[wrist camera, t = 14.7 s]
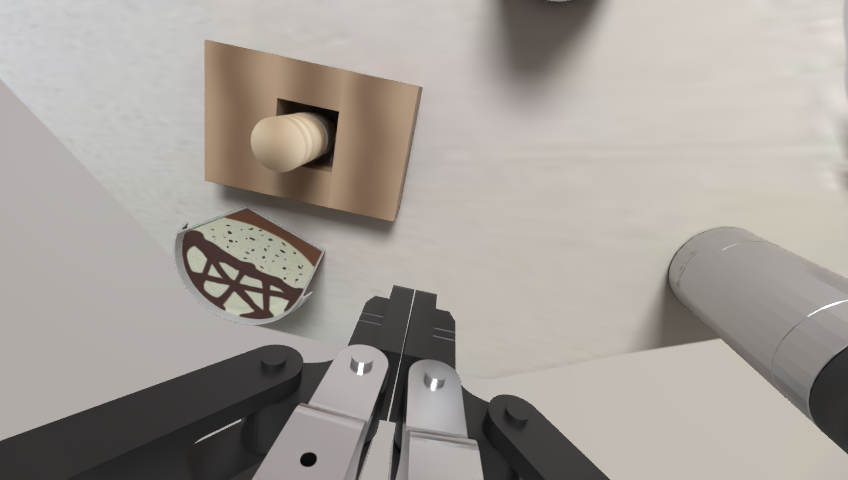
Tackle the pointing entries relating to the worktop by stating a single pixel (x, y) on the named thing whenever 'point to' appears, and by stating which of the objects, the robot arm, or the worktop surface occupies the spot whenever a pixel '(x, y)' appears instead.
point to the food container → (245, 266)
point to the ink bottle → (557, 1)
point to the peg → (292, 140)
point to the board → (275, 95)
